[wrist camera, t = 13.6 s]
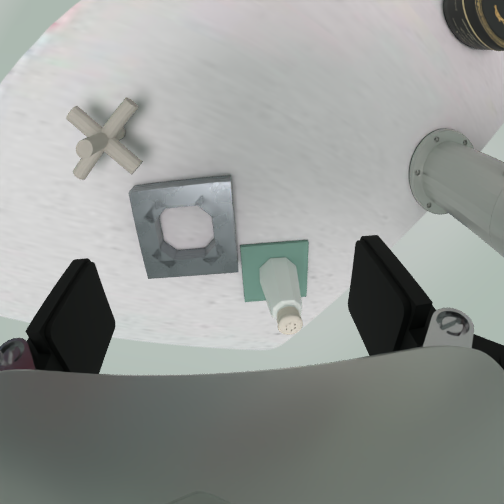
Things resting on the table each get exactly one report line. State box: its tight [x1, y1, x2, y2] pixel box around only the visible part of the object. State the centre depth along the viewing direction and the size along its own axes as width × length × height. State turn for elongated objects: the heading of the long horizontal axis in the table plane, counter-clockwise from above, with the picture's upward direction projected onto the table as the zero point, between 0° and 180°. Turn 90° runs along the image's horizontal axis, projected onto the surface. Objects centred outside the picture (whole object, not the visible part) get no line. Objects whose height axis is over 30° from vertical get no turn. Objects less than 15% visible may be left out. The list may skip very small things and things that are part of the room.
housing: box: [129, 175, 238, 279], centre depth 39 cm, size 12×12×3 cm
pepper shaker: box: [259, 257, 303, 335], centre depth 39 cm, size 5×5×11 cm
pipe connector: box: [66, 98, 143, 180], centre depth 29 cm, size 10×10×10 cm
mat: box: [240, 240, 309, 302], centre depth 44 cm, size 9×9×1 cm
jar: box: [444, 0, 504, 51], centre depth 24 cm, size 10×10×8 cm
